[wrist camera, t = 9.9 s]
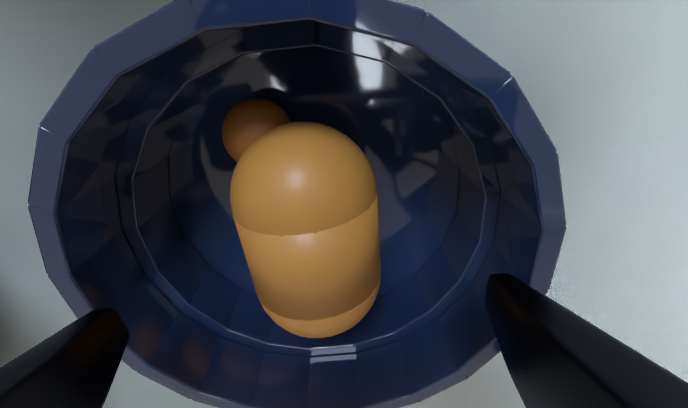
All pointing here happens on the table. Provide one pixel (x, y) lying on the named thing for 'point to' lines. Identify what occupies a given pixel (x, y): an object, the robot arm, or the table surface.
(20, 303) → the table surface
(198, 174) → the bowl
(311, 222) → the croissant
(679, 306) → the table surface
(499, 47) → the table surface
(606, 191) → the table surface
